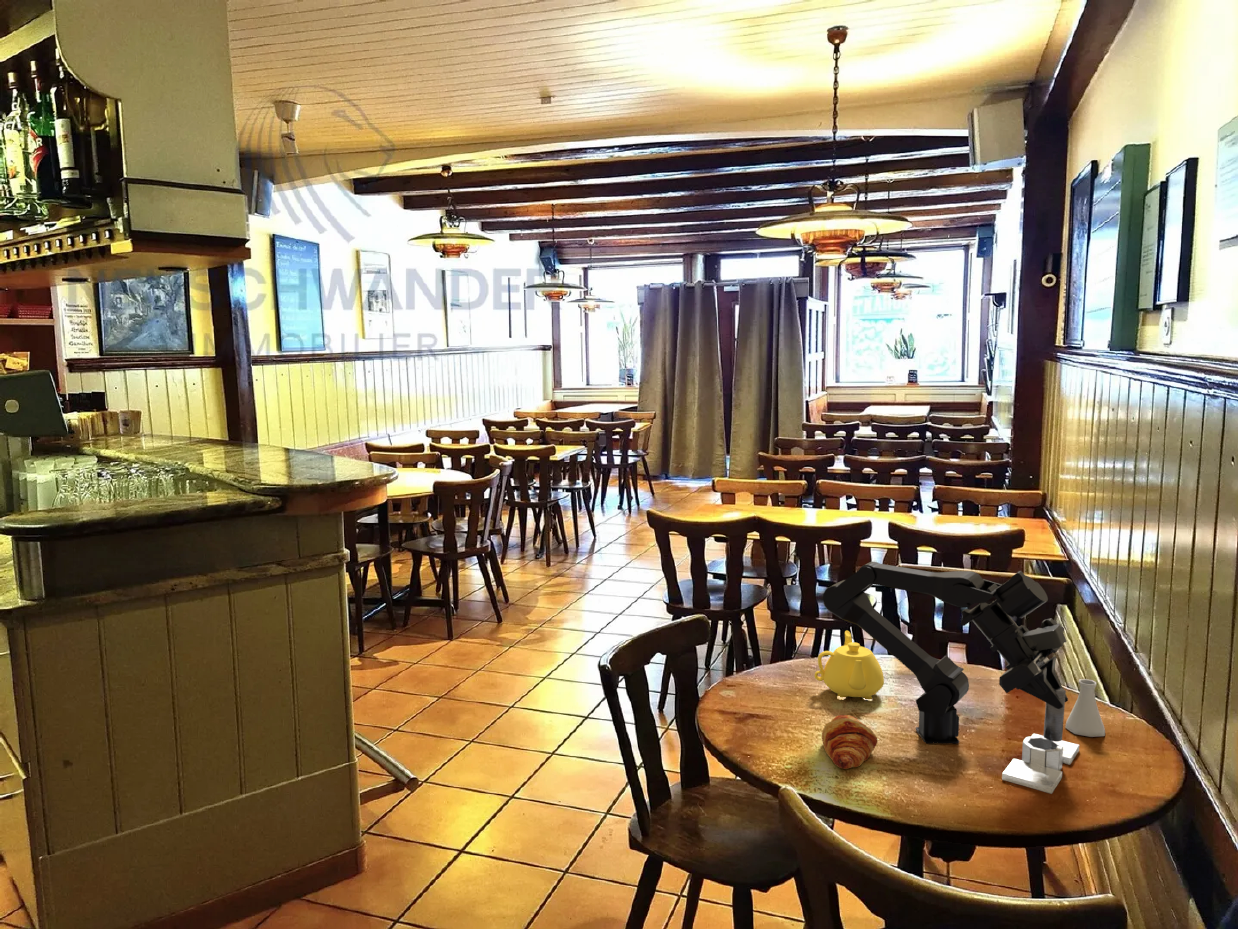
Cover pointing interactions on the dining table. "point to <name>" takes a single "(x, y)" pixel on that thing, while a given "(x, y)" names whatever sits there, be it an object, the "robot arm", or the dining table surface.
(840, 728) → the croissant
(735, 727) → the dining table surface
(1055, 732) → the hinge pin
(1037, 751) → the white piece
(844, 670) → the teapot
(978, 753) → the dining table surface
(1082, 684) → the flask
